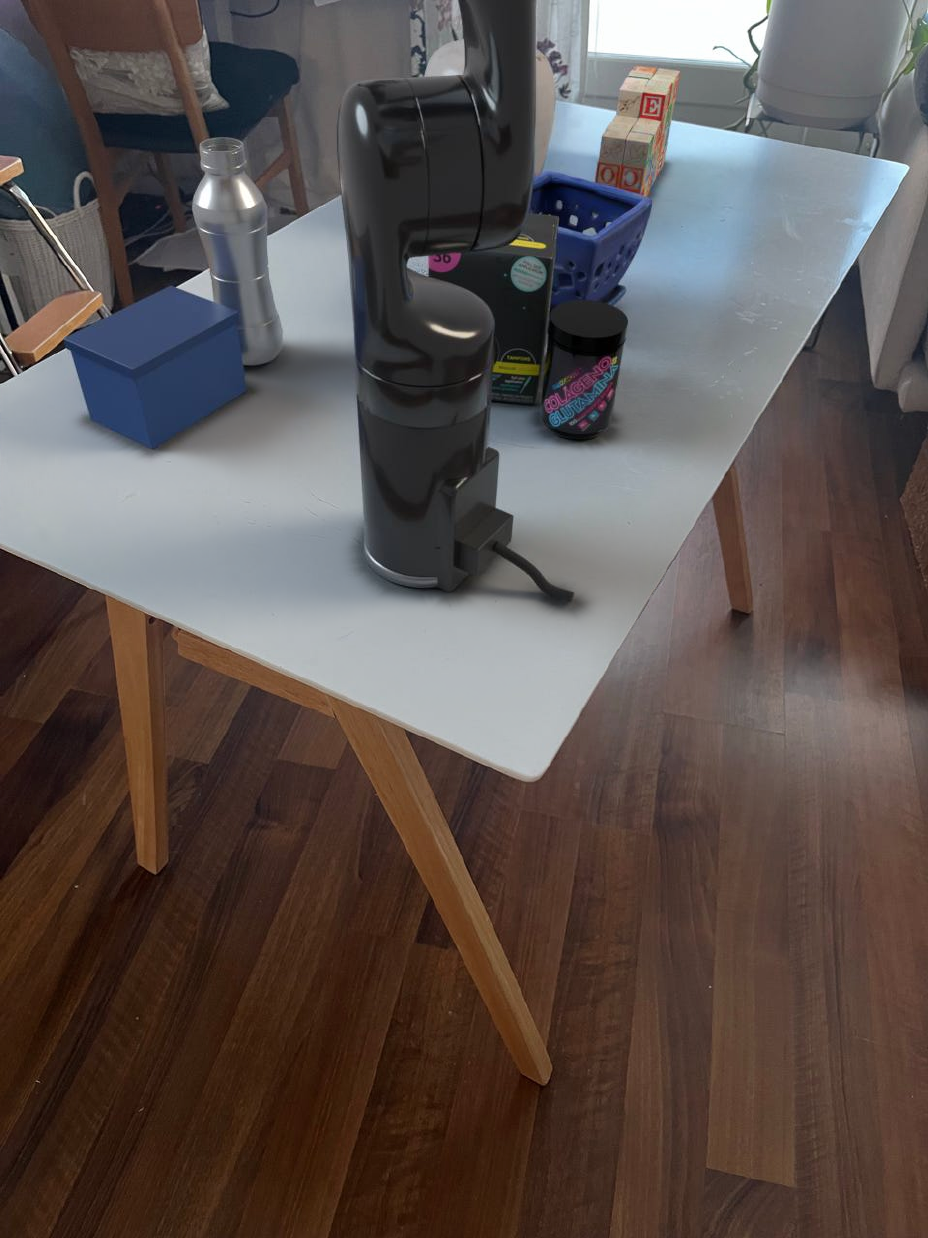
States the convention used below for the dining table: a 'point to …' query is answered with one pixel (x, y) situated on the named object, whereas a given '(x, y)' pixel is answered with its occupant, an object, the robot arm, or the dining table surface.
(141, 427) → the blue box
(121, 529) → the dining table surface
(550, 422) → the supplement container
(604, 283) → the flower pot
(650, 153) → the stack of blocks
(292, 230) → the dining table surface
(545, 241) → the tampon box
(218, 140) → the silver water bottle
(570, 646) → the dining table surface
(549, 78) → the vase
